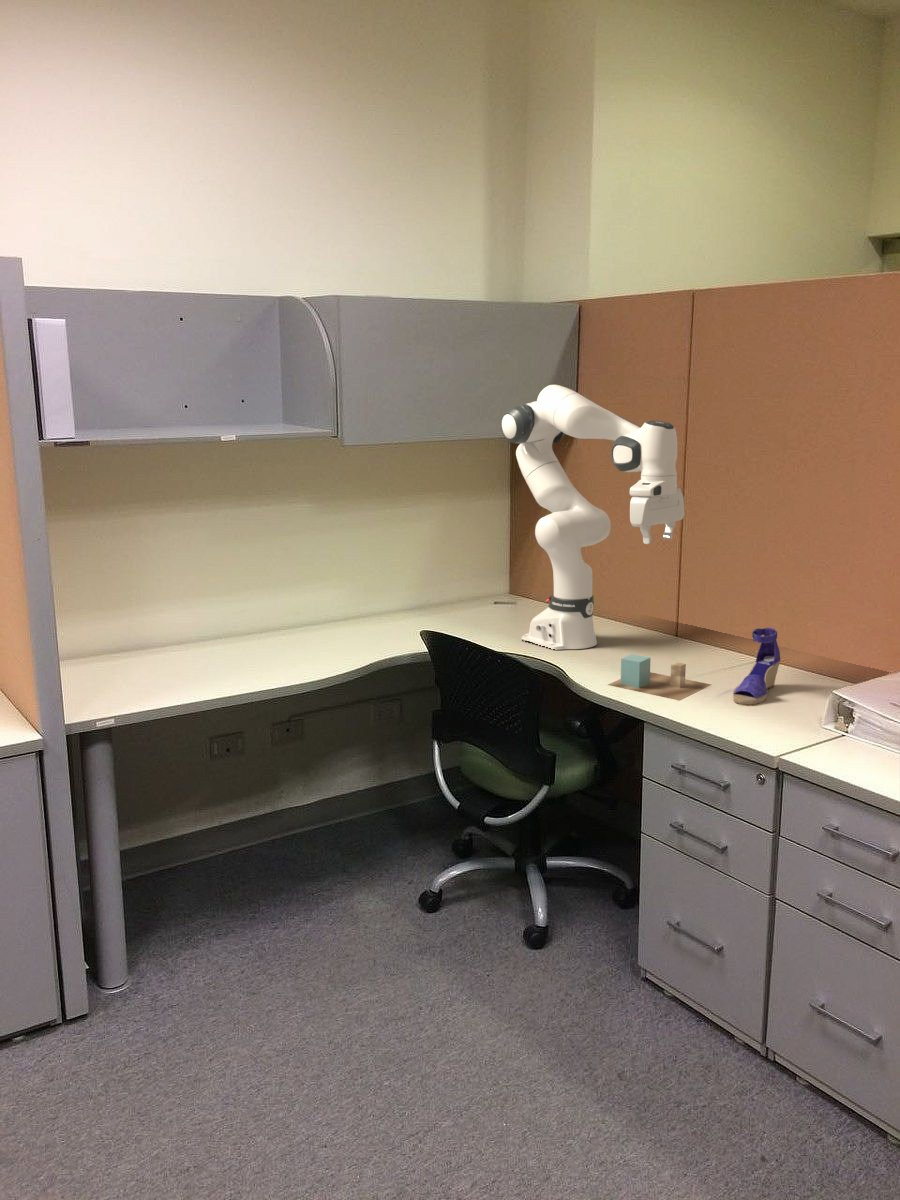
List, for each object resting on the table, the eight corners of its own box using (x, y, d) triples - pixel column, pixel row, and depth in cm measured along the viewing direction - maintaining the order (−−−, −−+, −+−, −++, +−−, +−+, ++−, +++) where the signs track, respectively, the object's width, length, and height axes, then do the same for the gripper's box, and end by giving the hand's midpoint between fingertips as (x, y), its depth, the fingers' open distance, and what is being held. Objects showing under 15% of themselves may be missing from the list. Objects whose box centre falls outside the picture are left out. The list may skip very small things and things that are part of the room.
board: (607, 687, 249) (607, 684, 249) (640, 673, 260) (640, 670, 260) (679, 703, 236) (679, 700, 236) (711, 687, 247) (711, 684, 247)
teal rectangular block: (620, 684, 249) (621, 658, 247) (631, 679, 253) (632, 654, 251) (638, 688, 245) (639, 662, 244) (649, 683, 249) (650, 657, 248)
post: (670, 685, 247) (671, 664, 246) (675, 683, 249) (676, 662, 247) (679, 687, 245) (680, 666, 244) (685, 685, 247) (685, 663, 246)
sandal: (720, 700, 238) (723, 639, 235) (761, 682, 252) (765, 624, 248) (751, 707, 232) (754, 645, 229) (792, 688, 246) (796, 629, 243)
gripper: (669, 483, 261) (668, 535, 263) (625, 489, 246) (624, 545, 249) (691, 484, 256) (689, 537, 259) (647, 490, 242) (646, 547, 244)
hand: (657, 541), depth 254 cm, fingers open, 8 cm apart
